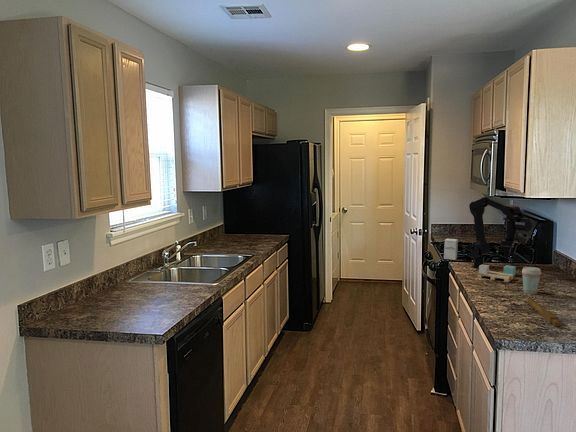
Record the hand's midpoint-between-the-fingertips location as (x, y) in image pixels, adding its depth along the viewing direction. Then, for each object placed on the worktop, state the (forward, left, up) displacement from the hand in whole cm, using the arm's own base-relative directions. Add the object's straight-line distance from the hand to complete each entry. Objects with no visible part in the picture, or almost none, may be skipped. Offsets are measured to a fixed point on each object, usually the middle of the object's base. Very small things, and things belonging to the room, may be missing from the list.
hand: (510, 256), depth 264 cm
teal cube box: (0, 0, -11) cm, 11 cm away
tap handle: (+60, +31, -11) cm, 69 cm away
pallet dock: (+12, -4, -11) cm, 16 cm away
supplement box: (-21, -42, -11) cm, 48 cm away
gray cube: (+14, -9, -8) cm, 18 cm away
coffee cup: (+29, +18, -11) cm, 36 cm away
